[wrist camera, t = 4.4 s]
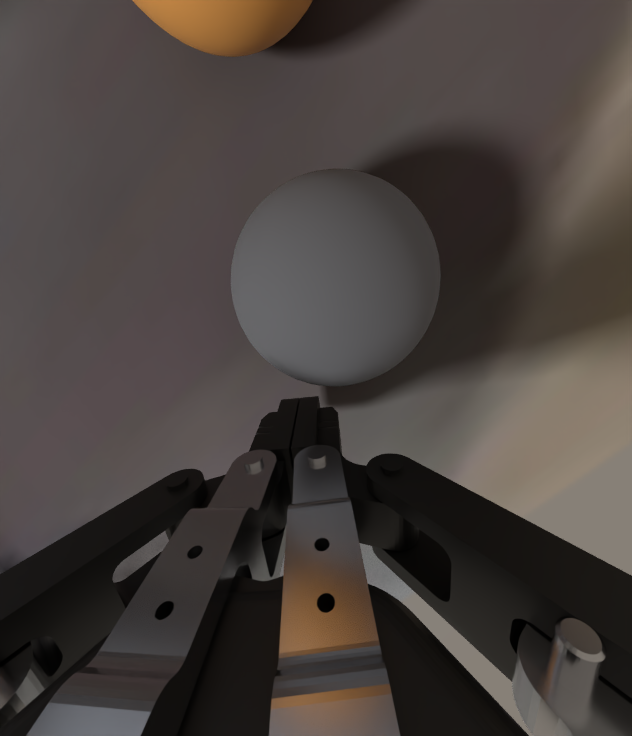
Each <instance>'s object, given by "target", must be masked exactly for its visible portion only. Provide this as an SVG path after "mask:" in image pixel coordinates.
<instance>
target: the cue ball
mask: <svg viewBox="0 0 632 736" xmlns="http://www.w3.org/2000/svg"><path fill="white" fill-rule="evenodd" d="M440 280H441V272H440V261H439V254H438V250H437V246H436V243H435V240H434V236H433V234H432V232H431V230H430V228H429V226H428V224H427V222H426V220H425V218H424V216H423V215H422V213H421V212H420V211H419V210H418V208H417V207H416V206H415V205H414V204H413V202H412V201H411V200H410V199H409V198H408V197H407V196H406V195H405V194H403V193H402V192H401V191H400V190H399V189H397V188H396V187H394V186H393V185H392V184H390V183H388V182H386V181H385V180H383V179H381V178H378V177H376V176H373V175H370V174H367V173H364V172H361V171H356V170H350V169H328V170H320V171H314V172H311V173H307V174H303V175H301V176H299V177H296V178H294V179H292V180H290V181H288V182H286V183H285V184H283V185H281V186H280V187H278V188H277V189H276V190H274V191H273V192H272V193H271V194H269V195H268V196H267V197H266V198H265V199H264V200H263V201H262V202H261V203H260V204H259V205H258V206H257V207H256V209H255V210H254V211H253V213H252V214H251V215H250V217H249V218H248V220H247V222H246V224H245V226H244V227H243V229H242V231H241V233H240V236H239V238H238V241H237V244H236V246H235V251H234V256H233V261H232V266H231V292H232V299H233V303H234V308H235V311H236V314H237V317H238V320H239V322H240V325H241V327H242V329H243V331H244V333H245V334H246V336H247V338H248V339H249V341H250V342H251V344H252V345H253V346H254V348H255V349H256V350H257V351H258V352H259V353H260V354H261V356H262V357H263V358H264V359H266V360H267V361H268V362H269V363H270V364H272V365H273V366H274V367H275V368H277V369H278V370H280V371H282V372H283V373H285V374H287V375H289V376H291V377H293V378H295V379H298V380H301V381H304V382H307V383H311V384H315V385H323V386H346V385H352V384H357V383H361V382H364V381H368V380H370V379H373V378H375V377H377V376H379V375H382V374H383V373H385V372H387V371H389V370H390V369H392V368H393V367H395V366H396V365H397V364H399V363H400V362H401V361H402V360H403V359H404V358H405V357H406V356H408V355H409V354H410V353H411V352H412V350H413V349H414V348H415V347H416V346H417V344H418V343H419V341H420V340H421V339H422V337H423V336H424V334H425V332H426V331H427V329H428V327H429V324H430V322H431V320H432V318H433V316H434V313H435V309H436V306H437V302H438V298H439V291H440Z"/></svg>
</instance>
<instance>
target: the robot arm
mask: <svg viewBox="0 0 632 736" xmlns="http://www.w3.org/2000/svg"><path fill="white" fill-rule="evenodd" d="M163 531H166V534H167V537H168V539H169V542H168V543H167V545H166V546H165V548H164V549H163V551H162V552H160V553H159V554H158V555H156V556H155V557H154V558H152V559H151V560H150V561H148V562H147V563H146V564H144V565H143V566H142V567H141V568H139V569H138V570H137V571H135V572H134V573H133V574H131V575H130V576H129V577H127V578H126V579H124V580H122V581H120V582H117V583H113V581H112V577H113V573H114V571H115V569H116V567H117V566H118V565H119V564H120V563H121V562H122V561H123V560H124V559H126V558H127V557H128V556H130V555H131V554H133V553H134V552H135V551H137V550H138V549H140V548H141V547H142V546H144V545H145V544H147V543H148V542H149V541H151V540H152V539H154V538H155V537H156V536H158V535H159V534H161V533H162V532H163ZM359 543H362V544H366V545H371V546H372V548H373V551H374V553H375V554H376V556H377V557H378V558H379V559H380V560H381V561H382V562H383V563H384V564H385V565H386V566H387V567H389V568H390V569H391V570H392V571H393V572H394V573H395V574H396V575H397V576H398V577H399V578H400V579H401V580H403V581H404V582H405V583H406V584H407V585H408V586H409V587H410V588H411V589H412V590H413V591H414V592H416V593H417V594H418V595H419V596H420V597H421V598H422V599H423V600H424V601H425V602H426V603H427V604H429V605H430V606H431V607H432V608H433V609H434V610H435V611H436V612H437V613H438V614H439V615H440V616H442V617H443V618H444V619H445V620H446V621H447V622H448V623H449V624H450V625H451V626H452V627H453V628H454V629H456V630H457V631H458V632H459V633H460V634H461V635H462V636H463V637H464V638H465V639H467V641H469V642H470V643H471V644H472V645H473V646H474V647H475V648H476V649H477V650H478V651H479V652H480V653H482V654H483V655H484V656H485V657H486V658H487V659H488V660H489V661H490V662H491V663H492V664H493V665H494V666H495V667H497V668H498V669H499V670H500V671H501V672H502V673H503V674H504V675H505V676H506V677H508V679H510V680H511V681H512V689H513V695H514V699H515V703H516V706H517V708H518V711H519V713H520V715H521V717H522V719H523V721H524V723H525V724H526V726H527V728H528V729H529V730H530V732H531V733H532V735H533V736H632V576H631V575H629V574H627V573H625V572H623V571H622V570H620V569H618V568H616V567H614V566H612V565H610V564H608V563H606V562H605V561H603V560H601V559H599V558H597V557H595V556H593V555H591V554H589V553H587V552H586V551H584V550H582V549H580V548H578V547H576V546H574V545H572V544H571V543H569V542H567V541H565V540H563V539H561V538H559V537H557V536H555V535H554V534H552V533H550V532H548V531H546V530H544V529H542V528H540V527H538V526H537V525H535V524H533V523H531V522H529V521H527V520H525V519H523V518H521V517H519V516H518V515H516V514H514V513H512V512H510V511H508V510H506V509H504V508H502V507H501V506H499V505H497V504H495V503H493V502H491V501H489V500H487V499H485V498H484V497H482V496H480V495H478V494H476V493H474V492H472V491H470V490H468V489H466V488H465V487H463V486H461V485H459V484H457V483H455V482H453V481H451V480H449V479H448V478H446V477H444V476H442V475H440V474H438V473H436V472H434V471H432V470H431V469H429V468H427V467H425V466H423V465H421V464H419V463H417V462H415V461H413V460H412V459H410V458H408V457H405V456H403V455H399V454H382V455H378V456H376V457H374V458H372V459H371V460H370V461H369V462H368V464H367V466H364V465H358V464H355V463H352V462H350V461H348V460H346V459H345V458H344V457H343V456H342V449H341V439H340V429H339V420H338V412H337V411H336V410H335V409H334V408H333V407H325V408H320V403H319V397H318V396H315V397H304V398H294V399H284V400H281V402H280V405H279V408H278V412H271V413H268V414H267V415H266V416H265V417H264V418H263V419H262V420H261V423H260V425H259V428H258V430H257V433H256V435H255V438H254V440H253V443H252V445H251V448H250V450H249V452H247V453H244V454H242V455H241V456H239V457H238V458H237V459H236V460H235V461H234V462H233V463H232V465H231V467H230V468H229V470H228V472H227V474H226V475H223V476H220V477H216V478H213V479H209V480H206V481H205V480H204V476H203V474H202V472H201V471H199V470H196V469H185V470H180V471H177V472H175V473H172V474H170V475H168V476H167V477H165V478H163V479H161V480H160V481H158V482H156V483H155V484H153V485H151V486H150V487H148V488H146V489H144V490H143V491H141V492H139V493H138V494H136V495H134V496H133V497H131V498H129V499H127V500H126V501H124V502H122V503H121V504H119V505H117V506H116V507H114V508H112V509H110V510H109V511H107V512H105V513H104V514H102V515H100V516H99V517H97V518H95V519H94V520H92V521H90V522H88V523H87V524H85V525H83V526H82V527H80V528H78V529H77V530H75V531H73V532H71V533H70V534H68V535H66V536H65V537H63V538H61V539H60V540H58V541H56V542H54V543H53V544H51V545H49V546H48V547H46V548H44V549H43V550H41V551H39V552H37V553H36V554H34V555H32V556H31V557H29V558H27V559H26V560H24V561H22V562H20V563H19V564H17V565H15V566H14V567H12V568H10V569H9V570H7V571H5V572H3V573H2V574H0V736H529V735H528V734H527V733H526V732H525V731H524V730H523V729H522V728H521V727H520V726H519V725H518V724H517V723H516V722H515V721H514V719H513V718H512V717H511V716H510V715H509V714H508V713H507V712H506V711H505V710H504V709H503V708H502V707H501V706H500V705H499V703H498V702H497V701H496V700H494V698H493V697H492V696H491V695H490V694H489V693H488V692H487V691H486V690H485V689H484V688H483V687H482V686H481V685H480V683H479V682H478V681H477V680H476V679H475V678H474V677H473V676H472V675H471V674H470V673H469V672H468V671H467V670H466V669H465V668H464V666H463V665H462V664H461V663H460V662H459V661H458V660H457V659H456V658H455V657H454V656H453V655H452V654H451V653H450V652H449V651H448V650H447V649H446V647H445V646H444V645H443V644H442V643H441V642H440V641H439V640H438V639H437V638H436V637H435V636H434V635H433V634H432V633H431V632H430V630H429V629H428V628H427V627H426V626H425V625H424V624H423V623H422V622H421V621H420V620H419V619H418V618H417V617H416V616H415V615H414V614H413V613H412V612H411V611H410V610H409V609H408V608H407V607H406V606H405V605H404V604H402V603H401V602H400V601H399V600H397V599H396V598H394V597H393V596H391V595H390V594H388V593H387V592H385V591H383V590H381V589H379V588H377V587H375V586H372V585H370V584H367V579H366V574H365V569H364V564H363V559H362V554H361V549H360V544H359ZM284 554H285V561H284V576H282V577H279V576H280V572H281V567H282V563H283V558H284Z"/></svg>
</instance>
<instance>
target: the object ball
mask: <svg viewBox="0 0 632 736" xmlns="http://www.w3.org/2000/svg"><path fill="white" fill-rule="evenodd" d="M312 1H313V0H133V2H134V3H135V4H136V5H137V6H138V7H139V8H140V9H141V10H142V11H143V12H144V13H145V14H146V15H147V16H148V17H149V18H150V19H152V20H153V21H154V22H155V23H156V24H157V25H159V26H160V27H161V28H162V29H164V30H165V31H166V32H168V33H169V34H170V35H172V36H173V37H175V38H177V39H178V40H180V41H182V42H183V43H185V44H187V45H189V46H191V47H193V48H196V49H198V50H200V51H202V52H206V53H210V54H214V55H218V56H228V57H237V56H246V55H250V54H254V53H257V52H260V51H262V50H264V49H266V48H268V47H270V46H272V45H274V44H275V43H276V42H278V41H279V40H280V39H282V38H283V37H285V36H286V35H287V34H288V33H289V32H290V31H291V30H292V29H293V28H294V27H295V26H296V24H297V23H298V22H299V20H300V19H301V18H302V16H303V15H304V14H305V12H306V11H307V10H308V8H309V6H310V4H311V3H312Z"/></svg>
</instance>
